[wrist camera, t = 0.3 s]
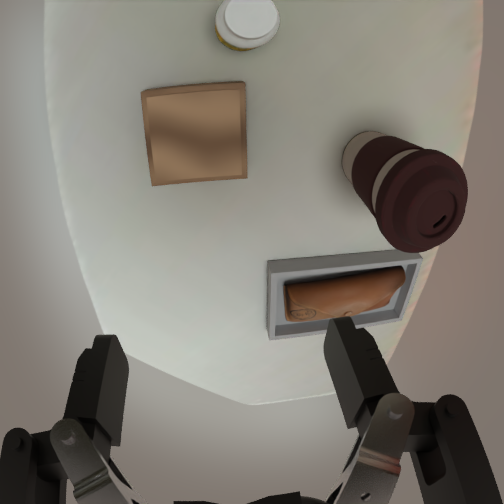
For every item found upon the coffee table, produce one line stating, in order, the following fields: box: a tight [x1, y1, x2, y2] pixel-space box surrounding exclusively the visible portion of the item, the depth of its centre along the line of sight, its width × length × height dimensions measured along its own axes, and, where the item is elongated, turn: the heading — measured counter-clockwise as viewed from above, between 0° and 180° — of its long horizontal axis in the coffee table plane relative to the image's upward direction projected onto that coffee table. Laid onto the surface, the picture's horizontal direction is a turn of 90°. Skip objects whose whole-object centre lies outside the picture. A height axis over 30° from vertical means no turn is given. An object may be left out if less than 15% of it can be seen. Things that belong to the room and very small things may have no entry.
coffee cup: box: [342, 131, 468, 253], centre depth 30 cm, size 10×10×15 cm
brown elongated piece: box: [283, 265, 406, 322], centre depth 46 cm, size 18×7×7 cm
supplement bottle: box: [215, 0, 280, 51], centre depth 23 cm, size 5×5×10 cm
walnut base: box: [141, 81, 247, 186], centre depth 31 cm, size 10×10×4 cm
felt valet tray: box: [267, 249, 423, 340], centre depth 46 cm, size 13×23×3 cm, turn 91°
